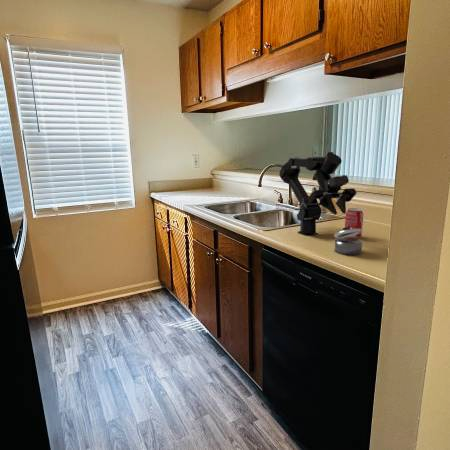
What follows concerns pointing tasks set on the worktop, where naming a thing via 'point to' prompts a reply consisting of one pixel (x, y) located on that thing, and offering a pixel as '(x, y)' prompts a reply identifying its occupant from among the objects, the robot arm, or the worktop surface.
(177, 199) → the worktop surface
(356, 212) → the soda can
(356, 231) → the cooker lid
